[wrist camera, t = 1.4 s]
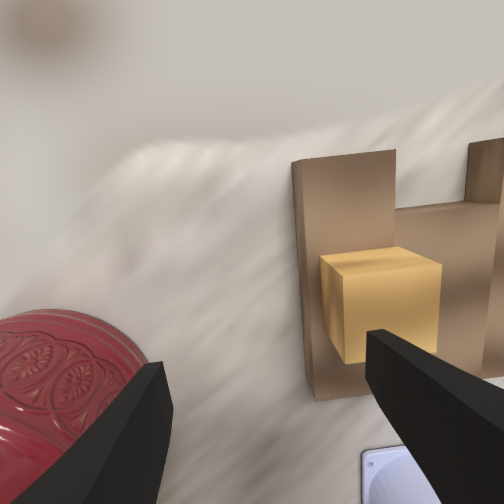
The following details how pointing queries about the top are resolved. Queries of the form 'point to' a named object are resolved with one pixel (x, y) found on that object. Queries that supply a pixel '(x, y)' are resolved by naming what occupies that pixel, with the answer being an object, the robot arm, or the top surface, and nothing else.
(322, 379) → the wooden slab structure
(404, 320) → the block
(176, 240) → the top surface
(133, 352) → the canister
